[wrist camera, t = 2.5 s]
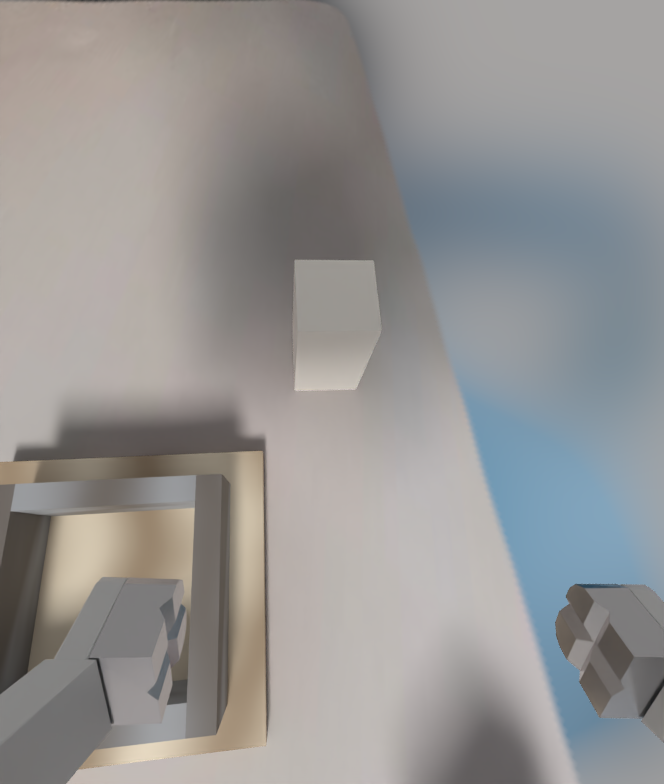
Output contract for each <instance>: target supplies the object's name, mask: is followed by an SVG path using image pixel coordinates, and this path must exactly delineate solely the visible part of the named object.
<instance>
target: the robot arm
mask: <svg viewBox="0 0 664 784" xmlns="http://www.w3.org/2000/svg"><path fill="white" fill-rule="evenodd" d="M183 595H184V585H183V580H180V579H157V578H132V577H129V578H125V577H102V578H101V579H100V580H99V581H98V582H97V583H96V584H95V586H94V587H93V589H92V591H91V593H90V595H89V596H88V598H87V600H86V602H85V604H84V605H83V607H82V609H81V611H80V613H79V614H78V616H77V618H76V620H75V622H74V624H73V625H72V627H71V629H70V631H69V633H68V634H67V636H66V638H65V640H64V642H63V643H62V645H61V647H60V649H59V651H58V652H57V654H56V656H55V658H54V659H46V660H44V661H42V662H41V663H40V664H38V665H37V666H36V667H35V668H33V669H32V670H31V671H30V672H28V673H27V674H26V675H24V676H23V677H22V678H21V679H19V680H18V681H17V682H16V683H14V684H13V685H12V686H10V687H9V688H8V689H7V690H5V691H4V692H3V693H2V694H0V784H66V783H67V782H68V781H69V779H70V778H71V777H72V776H73V775H74V774H75V772H76V771H77V770H78V769H79V768H80V766H81V765H82V764H83V763H84V762H85V761H86V759H87V758H88V757H89V756H90V755H91V753H92V752H93V751H94V750H95V749H96V747H97V746H98V745H99V744H100V743H101V742H102V740H103V739H104V738H105V737H106V736H107V734H108V733H109V732H110V731H111V730H112V726H113V725H136V724H159V723H162V720H163V716H164V713H165V709H166V706H167V702H168V699H169V695H170V692H171V688H172V685H173V683H172V674H171V668H172V667H173V666H174V665H175V664H176V663H177V662H178V661H179V659H180V656H181V652H182V648H183V644H184V638H185V632H186V618H187V616H186V608H185V607H184V606H183V605H182V604H181V602H182V598H183ZM566 598H567V600H568V602H569V604H568V605H567V606H566V607H564V608H563V609H562V610H561V611H559V614H558V617H557V619H556V622H555V625H556V636H557V640H558V643H559V645H560V648H561V650H562V652H563V654H564V655H565V657H566V659H567V660H568V661H569V662H570V663H571V664H573V665H574V666H575V667H576V668H578V669H579V670H580V679H579V682H580V684H581V686H582V688H583V689H584V691H585V693H586V694H587V696H588V698H589V700H590V702H591V703H592V705H593V707H594V708H595V710H596V712H597V714H598V715H599V717H600V718H639V719H641V718H642V722H643V723H644V724H645V725H646V726H647V727H648V728H649V729H650V730H651V731H652V732H653V733H654V734H655V735H656V736H657V737H659V738H660V739H661V740H662V741H663V742H664V602H663V601H662V600H661V599H660V597H659V596H658V595H657V594H656V593H655V592H654V591H653V590H651V589H650V588H649V587H647V586H646V585H625V584H624V585H623V584H622V585H618V584H575V585H573V586H572V587H570V589H569V590H568V593H567V595H566Z"/></svg>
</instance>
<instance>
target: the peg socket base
mask: <svg viewBox="0 0 664 784" xmlns="http://www.w3.org/2000/svg"><path fill="white" fill-rule="evenodd" d="M102 577H125V578H129V577H132V578H157V579H180V580H183V585H184V595H183V598H182V602H181V604H182V605H183V606H184V607H185V608H186V616H187V618H186V632H185V638H184V644H183V648H182V652H181V656H180V659H179V661H178V662H177V663H176V664H175V665H174V666H173V667H172V668H171V674H172V683H173V685H172V688H171V692H170V695H169V699H168V702H167V706H166V709H165V713H164V716H163V720H162V723H159V724H136V725H113V726H112V730H111V731H110V732H109V733H108V734H107V736H106V737H105V738H104V739H103V740H102V742H101V743H100V744H99V745H98V746H97V747H96V749H95V750H94V751H93V752H92V753H91V755H90V756H89V757H88V758H87V759H86V761H85V762H84V763H83V764H82V765H81V766H80V768H79V769H86V768H94V767H102V766H110V765H118V764H125V763H133V762H141V761H149V760H157V759H165V758H173V757H181V756H189V755H197V754H205V753H213V752H220V751H228V750H236V749H244V748H252V747H260V746H266V742H267V697H266V615H265V534H264V454H263V451H245V452H222V453H199V454H176V455H153V456H130V457H107V458H84V459H62V460H39V461H16V462H0V694H2V693H3V692H4V691H5V690H7V689H8V688H9V687H10V686H12V685H13V684H14V683H16V682H17V681H18V680H19V679H21V678H22V677H23V676H24V675H26V674H27V673H28V672H30V671H31V670H32V669H33V668H35V667H36V666H37V665H38V664H40V663H41V662H42V661H44V660H46V659H54V658H55V656H56V654H57V652H58V651H59V649H60V647H61V645H62V643H63V642H64V640H65V638H66V636H67V634H68V633H69V631H70V629H71V627H72V625H73V624H74V622H75V620H76V618H77V616H78V614H79V613H80V611H81V609H82V607H83V605H84V604H85V602H86V600H87V598H88V596H89V595H90V593H91V591H92V589H93V587H94V586H95V584H96V583H97V582H98V581H99V580H100V579H101V578H102Z"/></svg>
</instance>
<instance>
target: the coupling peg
mask: <svg viewBox="0 0 664 784" xmlns="http://www.w3.org/2000/svg"><path fill="white" fill-rule="evenodd" d="M381 332H382V325H381V316H380V308H379V300H378V291H377V283H376V275H375V266H374V260H295V261H294V294H293V327H292V342H293V368H294V391H318V390H355V389H356V388H357V386H358V384H359V382H360V379H361V377H362V375H363V373H364V370H365V368H366V366H367V364H368V361H369V359H370V357H371V355H372V352H373V350H374V348H375V346H376V344H377V341H378V339H379V337H380V335H381Z"/></svg>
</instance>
